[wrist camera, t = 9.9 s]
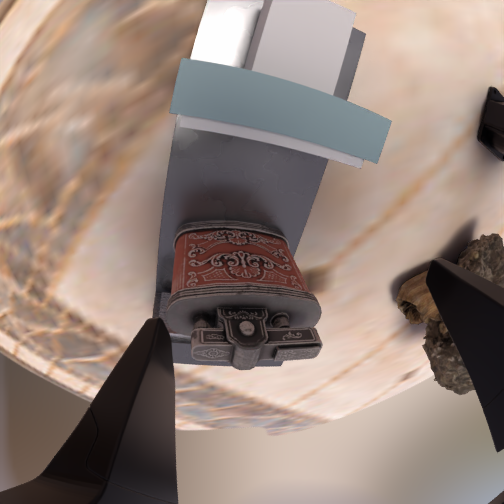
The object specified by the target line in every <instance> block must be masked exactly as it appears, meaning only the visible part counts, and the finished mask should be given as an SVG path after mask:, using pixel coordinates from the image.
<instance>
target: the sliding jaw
mask: <svg viewBox="0 0 504 504" xmlns="http://www.w3.org/2000/svg"><path fill="white" fill-rule="evenodd" d="M355 16H356V13H355V12H353V11H351V10H349V9H347V8H345V7H343V6H340V5H338V4H336V3H334V2H331V1H329V0H264V3H263V6H262V9H261V13H260V16H259V19H258V22H257V26H256V29H255V32H254V36H253V39H252V42H251V46H250V49H249V53H248V56H247V60H246V63H245V67H244V69H242V68H238V67H233V66H228V65H223V64H217V63H212V62H206V61H200V60H193V59H186V58H182V59H181V63H180V67H179V71H178V75H177V79H176V84H175V88H174V93H173V97H172V102H171V107H170V112H169V113H173V114H180V115H182V117H181V121H180V127H184V128H191V129H198V130H204V131H210V132H216V133H221V134H227V135H232V136H237V137H242V138H247V139H252V140H257V141H261V142H266V143H270V144H274V145H279V146H283V147H287V148H291V149H295V150H299V151H302V152H306V153H310V154H313V155H317V156H321V157H324V158H328V159H331V160H334V161H338V162H341V163H344V164H347V165H350V166H354V167H357V168H360V169H361V167H362V164H363V161H364V159H365V160H368V161H371V162H373V163H376V164H377V163H378V160H379V157H380V154H381V151H382V149H383V146H384V143H385V140H386V137H387V134H388V131H389V128H390V125H391V122H392V121H391V120H389V119H387V118H385V117H383V116H380V115H378V114H376V113H374V112H372V111H369V110H367V109H365V108H363V107H360V106H358V105H356V104H353V103H351V102H348V101H346V100H343V99H341V98H338V97H335V96H333V94H334V90H335V87H336V84H337V80H338V77H339V73H340V70H341V67H342V63H343V60H344V56H345V53H346V49H347V45H348V42H349V38H350V35H351V31H352V27H353V24H354V20H355Z"/></svg>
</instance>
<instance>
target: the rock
mask: <svg viewBox="0 0 504 504" xmlns="http://www.w3.org/2000/svg"><path fill="white" fill-rule="evenodd" d="M467 246H468V248H467V249H465V250H464V251H462V252H461V254H460V256H459V258H458V263H457V265H458V266H460V267H462V268H464V269H466V270H469V271H471V272H473V273H475V274H477V275H479V276H481V277H483V278H485V279H487V280H489V281H491V282H493V283H495V284H497V285H499V286H501V287H503V288H504V246H503V241H502V238H501V237H500V236H499V234H493V233H492V234H491V235H490V236H488V235H487V236H485V235H484V234H482V236H481V237H480V240H478V239H476V240H472V241H470V242H469V243H467ZM427 272H428V271H425V272H423V273H421V274H419V275H417V276H415V277H413V278H411V279H409V280H408V281H406V282H405V283H404V284H402V286H401V287H400V289H399V293H398V296H397V298H396V301H397V302H398V309H400V310H401V312H402V313H403V314H404V315H405V316H406V319H409V320H410V323H411V324H418V325H419V324H420V323H423V322H425V323H428V324H427V327H426V336H425V337H424V338H423V339H426V341H425V344H424V345H422V346H423V348H424V350H425V352H426V354H427V356H428V359H429V360H430V364H431V369H432V371H433V372H434V375H435V379H434V381H438V384H440V385H441V386H442V387H445V388H446V389H448V390H453V391H454V392H455V393H457V394H459V395H462V394H466V393H468V392H469V391H471V390H475V388H474V386H473V383H472V381H471V379H470V376H469V374H468V372H467V369H466V367H465V365H464V363H463V361H462V358H461V356H460V354H459V352H458V350H457V348H456V346H455V344H454V342H453V340H452V338H451V336H450V334H449V332H448V330H447V328H446V326H445V324H444V322H443V321H442V319H441V316H440V314H439V312H438V309H437V307H436V305H435V303H434V300H433V298H432V296H431V294H430V292H429V289H428V287H427V285H426V275H427Z"/></svg>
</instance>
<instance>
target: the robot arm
mask: <svg viewBox="0 0 504 504" xmlns="http://www.w3.org/2000/svg"><path fill="white" fill-rule="evenodd" d="M478 141H479V142H480V143H482V144H483V145H484V146H485V147H486V148H487V149H489V150H490V151H491V152H492V153H493V154H494V155H495V156H496V157H497V158H498V159H500V160H501V161H504V97H503V96H502V95H501V94H500V92H499V91H498V90H497V89H496V88H495V87H490V91H489V95H488V100H487V104H486V108H485V112H484V116H483V119H482V123H481V126H480V130H479V133H478ZM426 285H427V287H428V289H429V292H430V294H431V296H432V298H433V300H434V303H435V305H436V307H437V309H438V312H439V314H440V316H441V319H442V321H443V322H444V324H445V326H446V328H447V330H448V332H449V334H450V336H451V338H452V340H453V342H454V344H455V346H456V348H457V350H458V352H459V354H460V356H461V358H462V361H463V363H464V365H465V367H466V369H467V372H468V374H469V376H470V379H471V381H472V383H473V386H474V388H475V390H476V393H477V395H478V398H479V401H480V403H481V406H482V408H483V412H484V414H485V417H486V420H487V423H488V426H489V429H490V432H491V435H492V439H493V442H494V445H495V449H496V451H497V452H499V451H501V450H502V449H504V288H503V287H501V286H499V285H497V284H495V283H493V282H491V281H489V280H487V279H485V278H483V277H481V276H479V275H477V274H475V273H473V272H471V271H469V270H466V269H464V268H462V267H460V266H458V265H456V264H454V263H451V262H449V261H447V260H445V259H442V258H438V259H434V260H432V261H431V262H430V265H429V269H428V272H427V275H426ZM175 449H176V448H175V377H174V366H173V355H172V342H171V336H170V334H169V332H168V330H167V328H166V325H165V323H164V321H163V319H162V318H160V317H156V318H149V319H148V320H147V321H146V322H145V323H144V325H143V326H142V328H141V329H140V331H139V332H138V333H137V335H136V336H135V338H134V339H133V341H132V342H131V344H130V345H129V347H128V348H127V349H126V351H125V352H124V354H123V355H122V357H121V358H120V360H119V361H118V363H117V364H116V366H115V367H114V369H113V370H112V372H111V373H110V375H109V376H108V378H107V379H106V381H105V383H104V384H103V386H102V387H101V389H100V390H99V392H98V393H97V395H96V397H95V398H94V400H93V401H92V403H91V404H90V407H89V408H88V409H87V411H86V412H85V414H84V416H83V417H82V419H81V420H80V422H79V423H78V425H77V426H76V428H75V429H74V431H73V432H72V433H71V435H70V436H69V438H68V439H67V440H66V442H65V443H64V444H63V446H62V447H61V449H60V450H59V451H58V452H57V454H56V455H55V456H54V458H53V459H52V461H51V462H50V463H49V464H48V466H47V467H46V468H45V470H44V471H43V472H42V473H41V474H40V475H39V476H37V477H36V478H35V479H33V480H31V481H29V482H26V483H24V484H21V485H18V486H16V487H13V488H10V489H7V490H5V491H2V492H0V504H178V492H177V475H176V450H175ZM488 504H504V491H503V492H502V493H500V494H499V495H498V496H497V497H496V498H494V499H493V500H492V501H491V502H490V503H488Z"/></svg>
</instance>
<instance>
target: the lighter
mask: <svg viewBox="0 0 504 504" xmlns="http://www.w3.org/2000/svg"><path fill="white" fill-rule="evenodd" d="M173 247H174V252H175V258H174V268H173V278H172V290H171V297H170V298H169V300H168V303H167V310H166V320H167V324H168V325H169V326H170V328H171V329H172V330H173V331H175V332H176V333H178V334H181V335H185V336H191V355H192V358H193V359H195V360H198V361H227V362H228V363H230V364H231V365H232V366H233V367H234V368H236V369H239V370H250V369H252V368H254V367H255V366H256V364H257V362H259V361H260V360H274V361H287V360H300V359H311V358H315V357H317V355H318V354H319V352H320V350H321V348H322V345H323V344H322V342H321V340H320V337H319V335H318V333H317V330H316V328H314V326H315V325H316V324H317V322H318V321H319V319H320V317H321V313H322V312H321V307H320V305H319V303H318V301H317V299H316V297H315V296H314V295H313V294H312V293H310V292H309V290H308V288H307V286H306V284H305V281H304V279H303V277H302V275H301V273H300V271H299V269H298V267H297V265H296V263H295V261H294V259H293V257H292V255H291V253H290V251H289V244H288V241H287V239H286V237H285V235H284V234H283V233H282V232H281V231H279V230H277V229H274V228H270V227H266V226H263V225H259V224H253V223H246V222H239V221H204V222H194V223H187V224H184V225H182V226H181V227H180V228H178V230H177V232H176V233H175V238H174V244H173Z"/></svg>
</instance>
